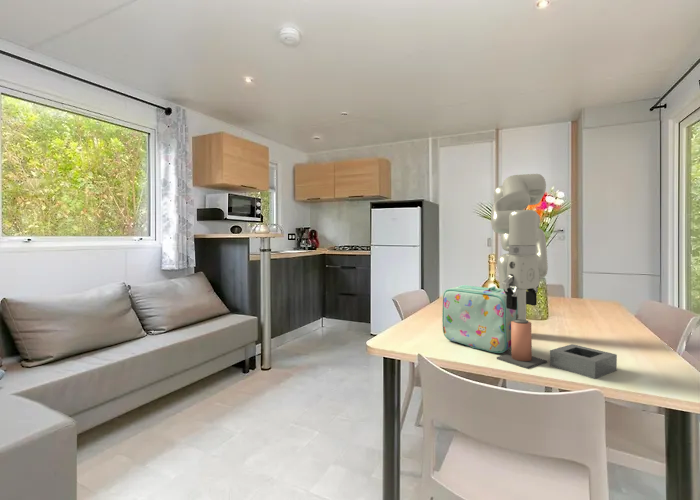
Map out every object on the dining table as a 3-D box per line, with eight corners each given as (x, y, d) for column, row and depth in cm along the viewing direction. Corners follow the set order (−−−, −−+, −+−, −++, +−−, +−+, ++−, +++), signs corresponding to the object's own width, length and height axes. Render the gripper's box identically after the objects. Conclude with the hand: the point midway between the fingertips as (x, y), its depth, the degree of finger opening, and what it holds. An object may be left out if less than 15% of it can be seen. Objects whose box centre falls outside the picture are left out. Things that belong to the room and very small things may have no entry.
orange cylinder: (507, 357, 111) (507, 320, 111) (519, 354, 114) (518, 318, 114) (524, 362, 106) (523, 323, 106) (535, 359, 109) (535, 321, 109)
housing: (549, 365, 106) (550, 350, 106) (572, 358, 112) (572, 344, 112) (594, 378, 95) (595, 361, 95) (616, 370, 102) (616, 354, 102)
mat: (496, 358, 112) (496, 357, 112) (516, 353, 117) (516, 351, 117) (527, 368, 103) (527, 366, 103) (547, 362, 108) (547, 360, 108)
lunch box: (525, 352, 118) (525, 287, 118) (508, 358, 112) (509, 289, 112) (456, 335, 139) (456, 280, 139) (439, 340, 133) (439, 282, 133)
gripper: (515, 253, 102) (515, 313, 103) (550, 250, 111) (549, 305, 112) (493, 252, 108) (492, 308, 110) (527, 249, 117) (527, 301, 118)
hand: (521, 306), depth 111 cm, fingers open, 9 cm apart
